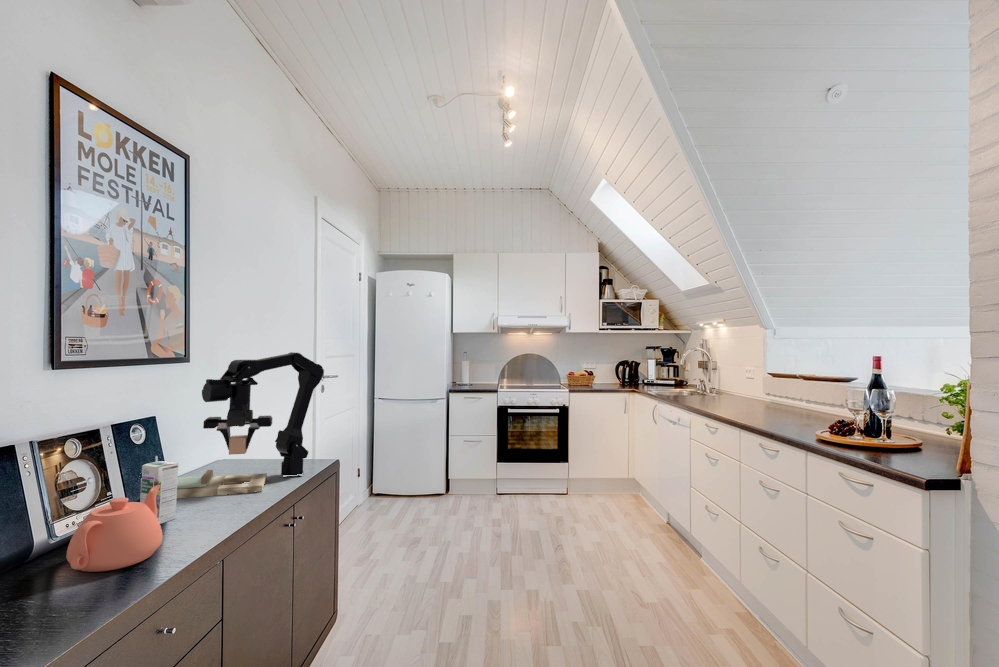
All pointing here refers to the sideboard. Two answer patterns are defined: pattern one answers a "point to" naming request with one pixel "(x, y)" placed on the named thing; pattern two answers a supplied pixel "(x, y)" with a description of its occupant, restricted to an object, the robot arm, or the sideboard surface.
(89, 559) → the teapot
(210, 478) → the cover
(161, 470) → the syrup box
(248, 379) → the robot arm
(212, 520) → the sideboard surface
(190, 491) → the puzzle board
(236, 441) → the block
